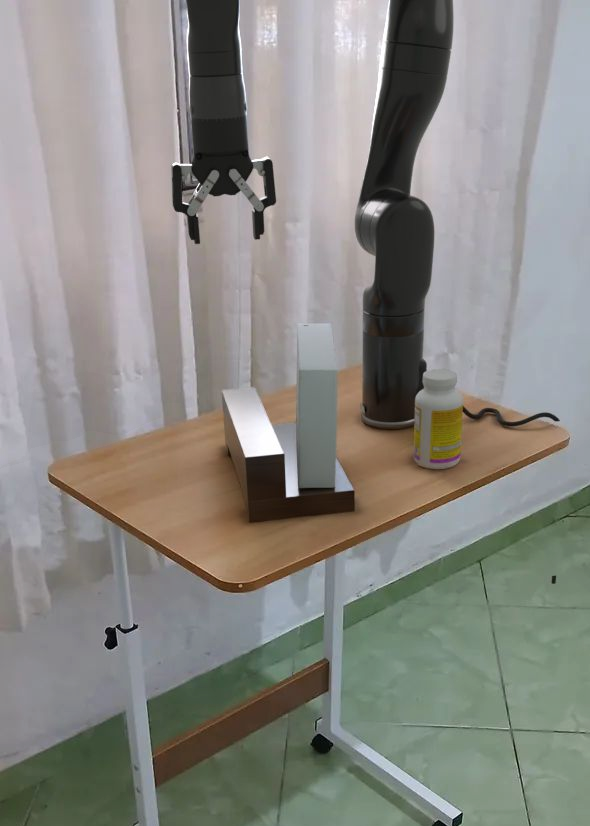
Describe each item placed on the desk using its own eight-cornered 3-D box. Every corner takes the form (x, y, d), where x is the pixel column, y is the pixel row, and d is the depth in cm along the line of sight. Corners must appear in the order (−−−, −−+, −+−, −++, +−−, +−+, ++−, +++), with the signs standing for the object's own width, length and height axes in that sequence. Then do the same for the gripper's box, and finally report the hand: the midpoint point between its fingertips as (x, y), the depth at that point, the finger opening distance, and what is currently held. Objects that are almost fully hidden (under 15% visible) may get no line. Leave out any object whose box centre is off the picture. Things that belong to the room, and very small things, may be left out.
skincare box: (339, 489, 133) (338, 368, 125) (297, 490, 133) (293, 370, 125) (333, 429, 151) (331, 320, 142) (296, 430, 151) (292, 322, 143)
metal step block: (316, 438, 156) (315, 381, 151) (354, 511, 135) (354, 446, 130) (225, 447, 154) (221, 389, 149) (249, 522, 133) (245, 457, 128)
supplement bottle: (469, 460, 147) (474, 372, 140) (441, 475, 143) (445, 385, 136) (431, 449, 151) (435, 363, 144) (403, 463, 147) (406, 375, 140)
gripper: (267, 107, 141) (272, 232, 149) (163, 113, 139) (174, 239, 148) (275, 112, 134) (280, 242, 143) (167, 119, 133) (178, 250, 141)
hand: (226, 240), depth 145 cm, fingers open, 8 cm apart
